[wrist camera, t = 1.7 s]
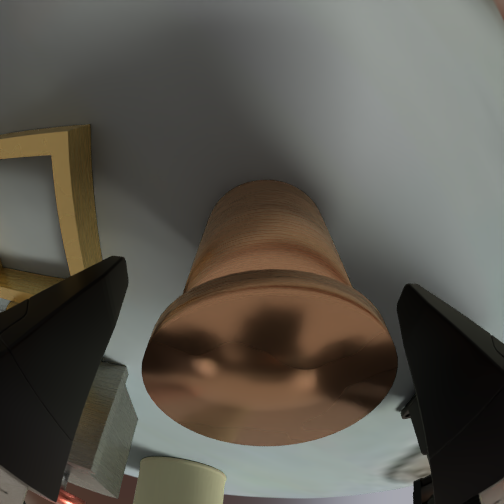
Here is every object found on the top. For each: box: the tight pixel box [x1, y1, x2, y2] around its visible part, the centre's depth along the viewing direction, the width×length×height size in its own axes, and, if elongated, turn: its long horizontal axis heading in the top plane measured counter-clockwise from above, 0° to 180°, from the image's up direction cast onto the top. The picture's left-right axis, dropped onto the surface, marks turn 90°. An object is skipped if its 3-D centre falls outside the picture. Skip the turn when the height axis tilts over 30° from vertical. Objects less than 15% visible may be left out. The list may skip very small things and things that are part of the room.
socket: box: [0, 124, 102, 303], centre depth 11 cm, size 8×8×2 cm
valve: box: [6, 301, 138, 504], centre depth 12 cm, size 8×12×9 cm
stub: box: [142, 180, 398, 446], centre depth 9 cm, size 5×5×7 cm
